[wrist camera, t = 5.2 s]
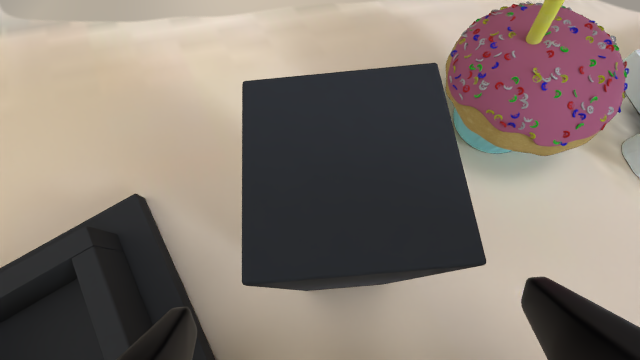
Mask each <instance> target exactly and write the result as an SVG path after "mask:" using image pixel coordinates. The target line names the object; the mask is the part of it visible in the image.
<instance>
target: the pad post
mask: <svg viewBox="0 0 640 360" xmlns="http://www.w3.org/2000/svg"><path fill="white" fill-rule="evenodd" d="M484 264H486V258H485V254H484V250H483V246H482V242H481V238H480V234H479V230H478V226H477V222H476V218H475V214H474V210H473V206H472V202H471V198H470V194H469V190H468V186H467V182H466V178H465V174H464V170H463V166H462V162H461V158H460V154H459V150H458V146H457V142H456V138H455V134H454V130H453V125H452V121H451V117H450V113H449V109H448V105H447V101H446V97H445V93H444V89H443V85H442V81H441V77H440V73H439V69H438V65H437V64H436V63H429V64H418V65H408V66H397V67H387V68H377V69H366V70H356V71H345V72H335V73H325V74H314V75H304V76H293V77H283V78H273V79H262V80H252V81H244V82H243V87H242V283H243V285H246V286H257V287H269V288H280V289H291V290H303V291H310V290H322V289H334V288H345V287H357V286H369V285H381V284H387V283H393V282H398V281H403V280H408V279H414V278H419V277H424V276H429V275H434V274H440V273H445V272H450V271H455V270H461V269H466V268H471V267H476V266H481V265H484Z"/></svg>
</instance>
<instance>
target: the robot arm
mask: <svg viewBox="0 0 640 360" xmlns="http://www.w3.org/2000/svg"><path fill="white" fill-rule="evenodd" d="M521 304H522V308H523V311H524V313H525V315H526V317H527V319H528V321H529V323H530V325H531V327H532V329H533V331H534V333H535V335H536V337H537V339H538V341H539V343H540V345H541V347H542V349H543V351H544V353H545V355H546V357H547V359H548V360H640V327H638V326H636V325H634V324H632V323H630V322H629V321H627V320H625V319H623V318H621V317H619V316H617V315H616V314H614V313H612V312H610V311H608V310H606V309H604V308H603V307H601V306H599V305H597V304H595V303H593V302H591V301H590V300H588V299H586V298H584V297H582V296H580V295H578V294H577V293H575V292H573V291H571V290H569V289H567V288H565V287H564V286H562V285H560V284H558V283H556V282H554V281H552V280H551V279H549V278H546V277H532V278H528V279H527V280H526V283H525V287H524V291H523V295H522V299H521ZM196 338H197V327H196V324H195V322H194V319H193V316H192V313H191V311H190V309H189V308H188V307H177V308H172V309H171V310H169V311H168V312H167V313H166V314H165V315H164V316H163V317H162V318H161V319H160V320H159V321H157V322H156V323H155V324H154V325H153V326H152V327H151V328H150V329H149V330H148V331H147V332H146V333H144V334H143V335H142V336H141V337H140V338H139V339H138V340H137V341H136V342H135V343H134V344H133V345H132V346H130V347H129V348H128V349H127V350H126V351H125V352H124V353H123V354H122V355H121V356H120V357H119V358H117V359H116V360H192V358H193V353H194V348H195V343H196Z"/></svg>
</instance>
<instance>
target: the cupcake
mask: <svg viewBox="0 0 640 360" xmlns="http://www.w3.org/2000/svg"><path fill="white" fill-rule="evenodd" d="M563 2H564V0H545V1H544V3H543V4H542V3H536V4H531V3H530V2H526V3H527V4H525V3H520V4H519V5H516V4H513V5H512V6H511V7H506V6H505V7H501V8H500V10H492V11H491V13H489V15H486V16H484V17H482V18H480V19H477V20H476V22H475V21H474V22H473V24H472V25H471V26H469V28H468V29H467V30H466V31H464V32H463V33H462V35H461V37H460V38H459V40H458V41H457V43H456V44H455V46H454V48H453V49H452V51H451V53H450V55H449V57H448V60H447V63H446V93H447V95H448V97H449V98H450V100H451V101H452V103H453V104H454V106H455V107H454V115H453V118H454V124H455V127H456V129H457V131H458V133H459V135H460V136H461V137H462V138H463V139H464V141H466V142H467V143H468V144H469V145H471V146H472V147H474V148H476V149H478V150H481V151H484V152H488V153H506V152H510V151H517V152H524V153H532V154H536V155H540V156H548V155H553V154H556V153H559V152H562V151H566V150H569V149H572V148H575V147H578V146H581V145H583V144H585V143H587V142H588V141H589V140H591V139H592V138H593V137H594V136H595V135H596V134H597V133H598V132H599V131H600V130H603V128H604V127H605V125H606V124H607V123H608V122H609V121H610V120H611V119H612V118H613V117H614V116H615V115H616V113H617V112H619V113H620V112H621V109H620V106H621V104H622V100H623V98H625V97H626V95H625V90H626V89H627V87H628V84H627V83H625V78H627V74H628V73H629V69H628V68H626V66H627V62H626V61H625V62H624V63H623V61H622V58H621V55H620V53H619V48H618V46H617V44H616V43H615V42H616V38H615V36H610V35H609V34H606V32H605V31H604V28H603V27H602V26H598V25H597V23H595V21H591V20H589V19H587V18H586V17H584V16H583V15H579V14H577V13H575V12H573V11H572V9H571V8H569V7H568V8H567V9H566V7H565V6H562V4H563ZM502 8H503V9H502ZM612 38H613V39H612ZM612 40H614V41H612ZM626 70H627V72H626ZM625 85H626V87H625Z"/></svg>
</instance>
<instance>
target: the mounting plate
mask: <svg viewBox="0 0 640 360" xmlns="http://www.w3.org/2000/svg"><path fill="white" fill-rule="evenodd" d="M625 61H626V62H627V66H626V68H628V69H629V73H628V74H627V78H625V83H627V84H628V87H627V89H626V90H625V93H626V94H627V96H628V97H629V99H630V100H631V102H632V103H633V105H634V106H635V108H636V109H637V111H638V112H639V114H640V49H639V50H635V51H634V52H633V53H631V54H630V55H629V56H628V57H627V58H625V59H624V60H623V63H624V62H625ZM626 72H627V70H626ZM625 87H626V85H625ZM622 153H623V155H624V157H625V159H626V161H627V162H628V164H629V165H630V167H631V169H632V170H633V172H634V173H635V174H636V175H637V176H638V177H639V178H640V133H639V134H637V135H635V136H633V137H631V138H629V139H627V140H626V141H625V142H624V143H623V144H622Z"/></svg>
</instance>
